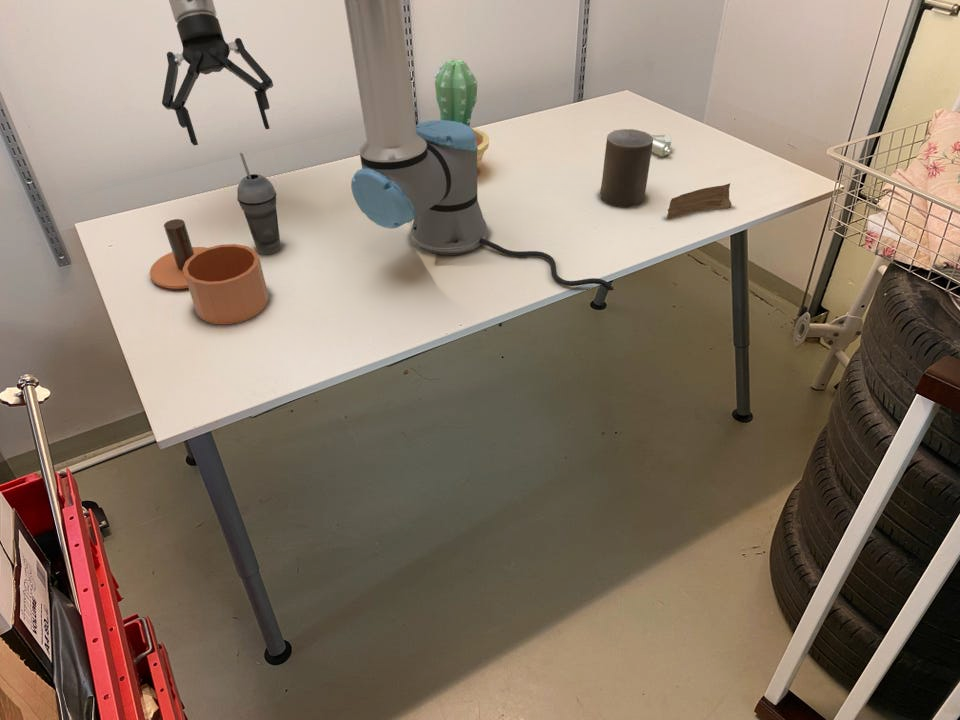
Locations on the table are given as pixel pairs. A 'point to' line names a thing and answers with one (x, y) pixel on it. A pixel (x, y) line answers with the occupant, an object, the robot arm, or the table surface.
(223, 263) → the canister
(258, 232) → the beverage cup
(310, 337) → the table surface
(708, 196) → the wood plank
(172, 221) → the lid
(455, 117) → the potted cactus
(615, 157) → the pillar candle
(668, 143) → the pipe fitting
